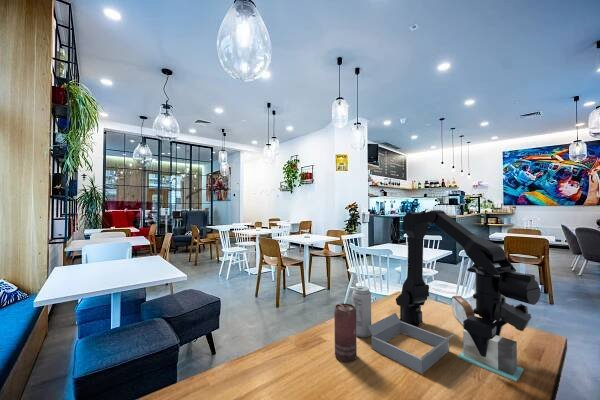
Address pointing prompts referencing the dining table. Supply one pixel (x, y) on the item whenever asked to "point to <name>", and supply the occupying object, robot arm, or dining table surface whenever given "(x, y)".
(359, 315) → the energy drink can
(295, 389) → the dining table surface
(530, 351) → the dining table surface
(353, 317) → the can
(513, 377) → the mat
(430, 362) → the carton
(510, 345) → the block
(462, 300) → the tin
